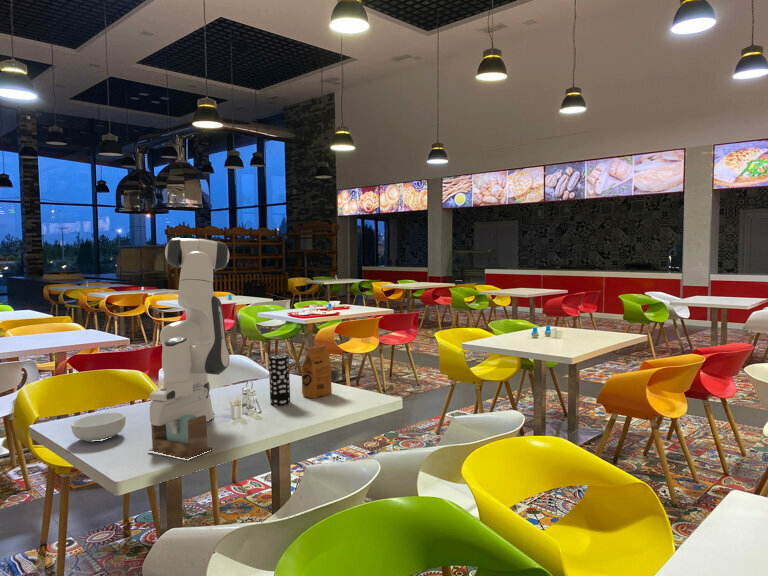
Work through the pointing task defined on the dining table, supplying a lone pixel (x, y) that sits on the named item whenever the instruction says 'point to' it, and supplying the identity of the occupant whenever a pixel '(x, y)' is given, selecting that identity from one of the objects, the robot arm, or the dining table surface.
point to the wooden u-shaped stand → (194, 448)
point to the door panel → (183, 434)
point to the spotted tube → (279, 380)
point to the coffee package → (316, 373)
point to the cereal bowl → (98, 426)
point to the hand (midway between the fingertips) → (181, 431)
